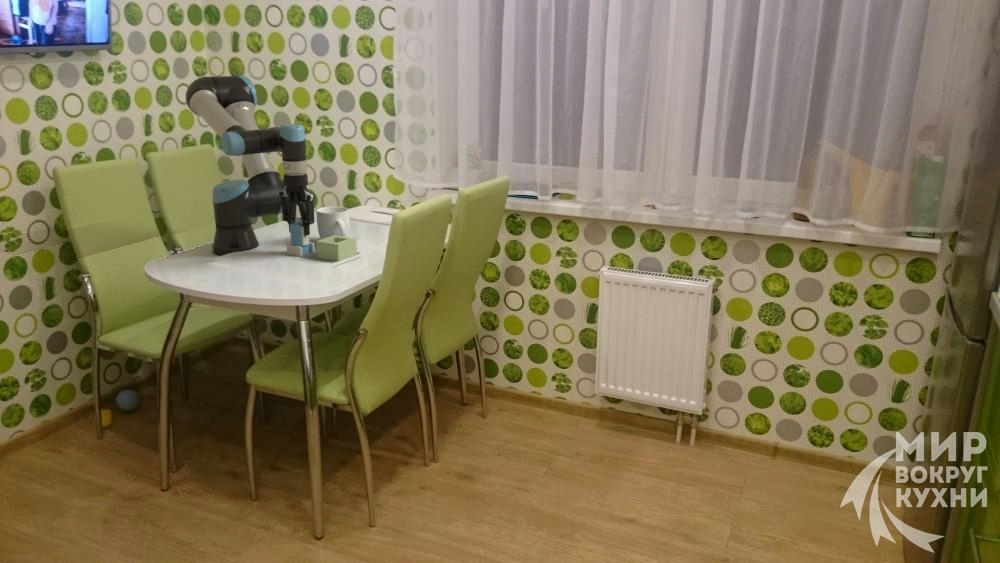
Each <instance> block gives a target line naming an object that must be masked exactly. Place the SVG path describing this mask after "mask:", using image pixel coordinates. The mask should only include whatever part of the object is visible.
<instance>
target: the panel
mask: <svg viewBox="0 0 1000 563" xmlns="http://www.w3.org/2000/svg"><path fill="white" fill-rule="evenodd" d="M309 248H310V252H309V253H306V254H302V247H299V246H294V245H292V244H286V254H285V255H286V256H292V257H298V258H303V259H307V260H313V261H319V262H324V263H328V264H329V263H330V264H334V263H338V261H334V260H329V259H323V258H318V257H317V244H315V242H310V241H309ZM360 254H361V252H358V251H357V255H360ZM360 258H361V256H359V257H357V258H354V259H351V260H348V261H345V262H343V263H339V264H336V265H334V266H333V268H335V267H338V266H341V265H343V264H347V263H348V262H351V261H354V260H358V259H360Z"/></svg>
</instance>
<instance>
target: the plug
mask: <svg viewBox="0 0 1000 563" xmlns="http://www.w3.org/2000/svg"><path fill="white" fill-rule="evenodd" d="M295 220H296V222H294V223H291V224H290V230H291V233H290V243H291V244H290V245H294V246H299V247H302V254H306V253H309V252H310V248H309V244H308V245H304V246H302V238H301V225H302V220H301V216H296V217H295Z"/></svg>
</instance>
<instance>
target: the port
mask: <svg viewBox="0 0 1000 563" xmlns="http://www.w3.org/2000/svg"><path fill="white" fill-rule="evenodd" d="M316 245H317V257H318V258H323V259H329V260H334V261H337V262H342V261H344V260H346V259H349V258H352V257H355V256H357V255H358V254H357V252H358V250H357V249H358V247H357V238H354V237H349V236H348V237H343V236H337V235H334V236H331V237H328V238H325V239H319V240H316Z"/></svg>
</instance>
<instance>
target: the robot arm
mask: <svg viewBox="0 0 1000 563" xmlns="http://www.w3.org/2000/svg"><path fill="white" fill-rule="evenodd" d="M185 101H186V105H187V107H188V108H189V109H190V111H191V113H193V114H194V115H195V116H198V117H201V118H202V119H203V120H204V122H205V123H206V124H207V125H208V126H209V127H210V128H211V129H212V130H213V132H215V133H216V134H217V135H218V136H219V138H220V145H221V149H222V151H223V153H224V155H226V156H231V157H234V156H236V157H240V156H241V158H242V161H243V164H244V166H245V169H246V172H247V175H248V178H247V180H246V179H236V180H235V179H232V180H227V181H224V182H223V181H222V182H220V183H218V184H216V185H215V186H214V187H213V189H212V199H211V200H212V204H213V213H214V215H213V216H214V223H215V234H214V238H213V244H212V245H211V246H212V253H213V254H215V255H217V256H225V255H229V254H232V253H240V252H246V251H250V250H254V249H256V248H258V247H259V245H260V243H259V240H258V238H257V236H256V234H255V231H254V228H253V224H252V219H253V218H261V217H268V216H269V217H270V216H278V215H280V214H282V219H283V221H284V222H286V223H287V224H288V231H289V234H291V230H290V224H291V223H295V222H296V220H295V217H297V208H298V211H299V217H301V220H302V225H301V238H302V246H304V245H308V244H309V242H310V234H311V231H310V230H311V229H310V226H311V225H313V224H315V203H314V202H315V196H316V195H315V194H314V193H312V194H311V193H310V192H309V190H308V188H307V186H308V184H309V181H308V180H309V179H308V178H309V177H308V173H307V172H308V166H307V164H308V163H307V148H306V147H307V146H306V134H305V127H304V126H303V125H302V124H297V123H288V124H287V123H286V124H282V125H280V127H279V126H272V127H268V128H264V129H263V128H262V129H259V127H258V124H257V121H256V119H255V116H254V112H255V109H256V105H257V103H258V96H257V90H256V87H255V85H254V84H253V82H252V80H251V79H250V78H249V77H247V76H245V75H236V74H233V75H226V76H225V75H224V76H222V75H219V76H217V75H216V76H201V77H198V78H196V79H195V80H193V81H192V82H191V83H189V85H188V87H187V89H186V91H185ZM277 152H279V153H281V160H282V172H283V179H282V176H281V174H280V172H279V171H277V170H275V169H274V168H273V165H272V163H271V159H270V158H269V157H270V156H269V154H268V153H277ZM297 206H298V207H297Z"/></svg>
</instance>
